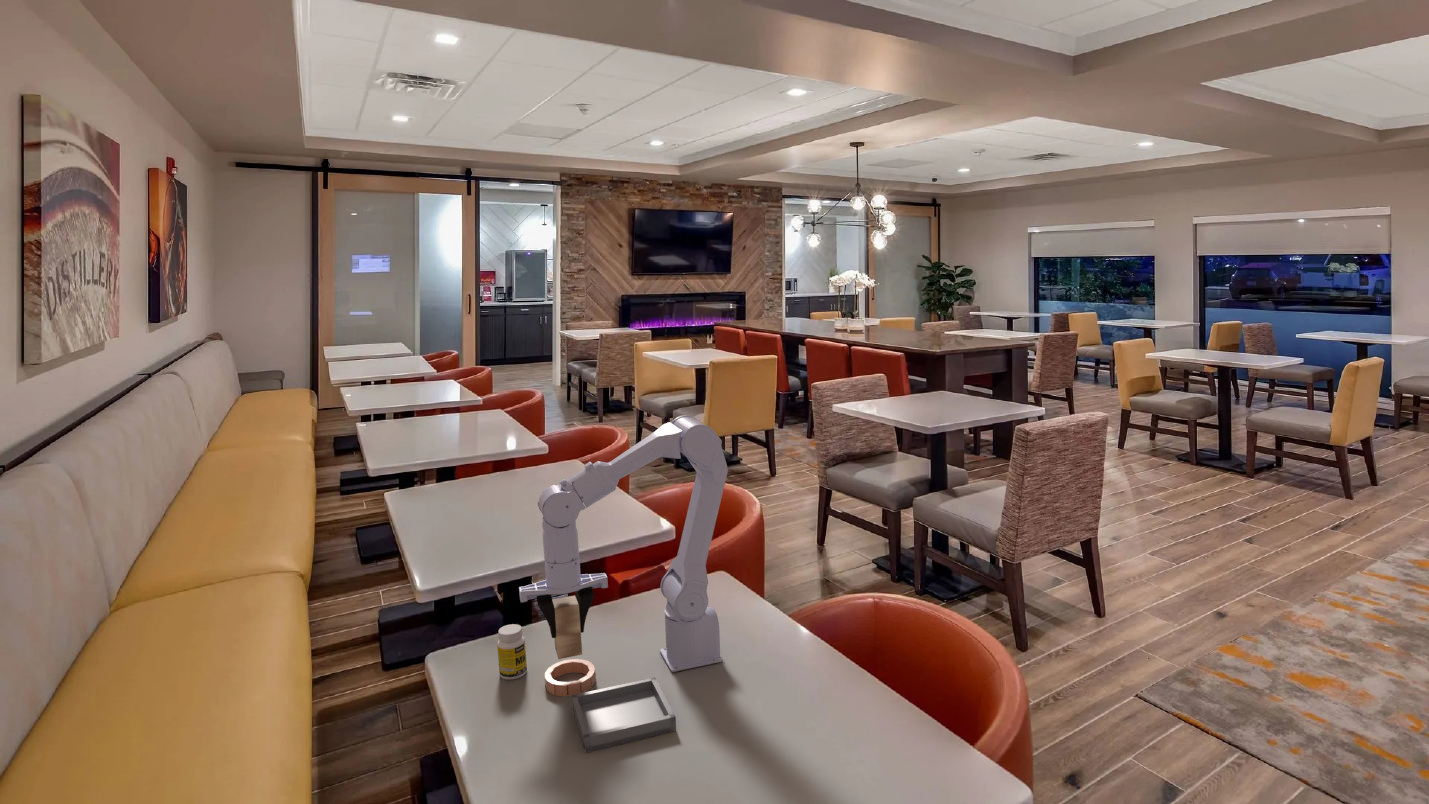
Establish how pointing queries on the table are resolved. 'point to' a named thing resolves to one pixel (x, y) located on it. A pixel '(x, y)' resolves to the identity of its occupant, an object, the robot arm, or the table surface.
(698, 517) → the robot arm
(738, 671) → the table surface
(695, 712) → the table surface
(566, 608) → the oak peg
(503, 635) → the supplement bottle
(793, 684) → the table surface
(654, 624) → the table surface
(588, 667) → the segmented block ring
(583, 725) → the tray
